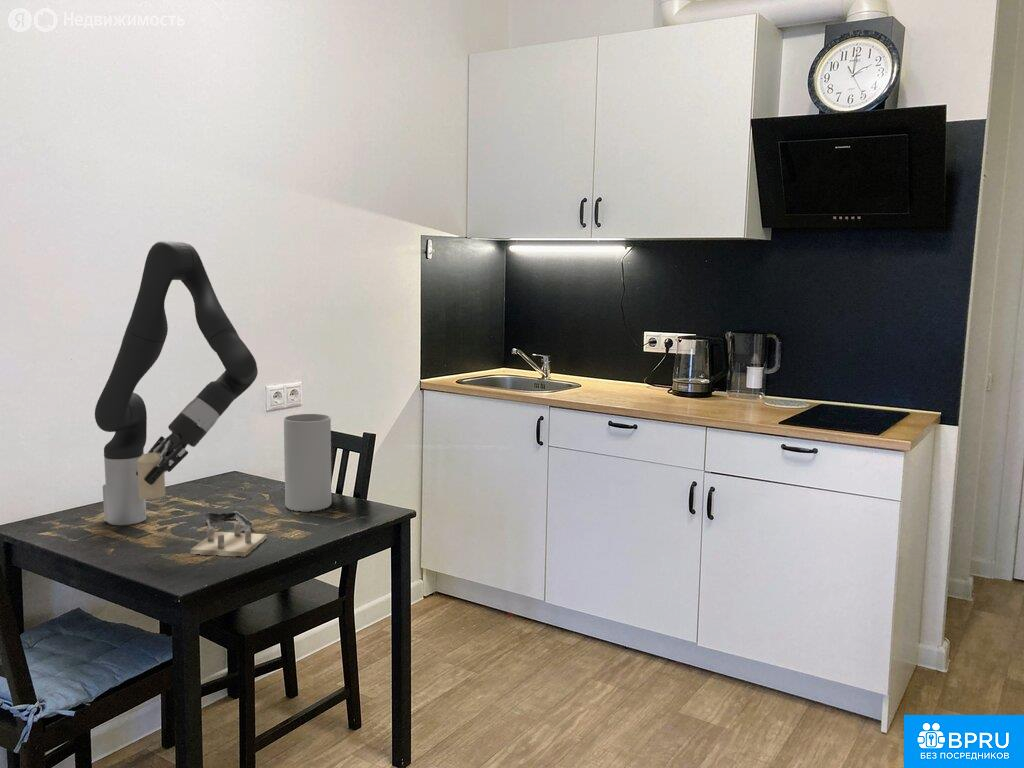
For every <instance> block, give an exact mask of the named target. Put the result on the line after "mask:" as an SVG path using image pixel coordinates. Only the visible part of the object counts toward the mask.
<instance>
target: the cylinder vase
mask: <svg viewBox="0 0 1024 768" xmlns="http://www.w3.org/2000/svg"><path fill="white" fill-rule="evenodd" d="M331 420H332V418H331V416H330V415H327V414H321V413H299V414H291V415H287V416H284V418H283V444H284V447H283V448H284V451H283V452H284V453H283V454H284V455H283V456H284V500H285V501H284V503H285V508H286V509H288V510H290V511H293V510H294V511H293V512H298V511H301V512H300V513H305V512H306V513H308V512H309V513H310V511H312V512H319V511H323V510H325V508H326V509H328V508H329V507H330V506H331V505H332V433H331V432H332V430H331V429H332V427H331V426H332V425H331V423H332V421H331ZM322 509H323V510H322ZM318 510H319V511H318Z"/></svg>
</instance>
